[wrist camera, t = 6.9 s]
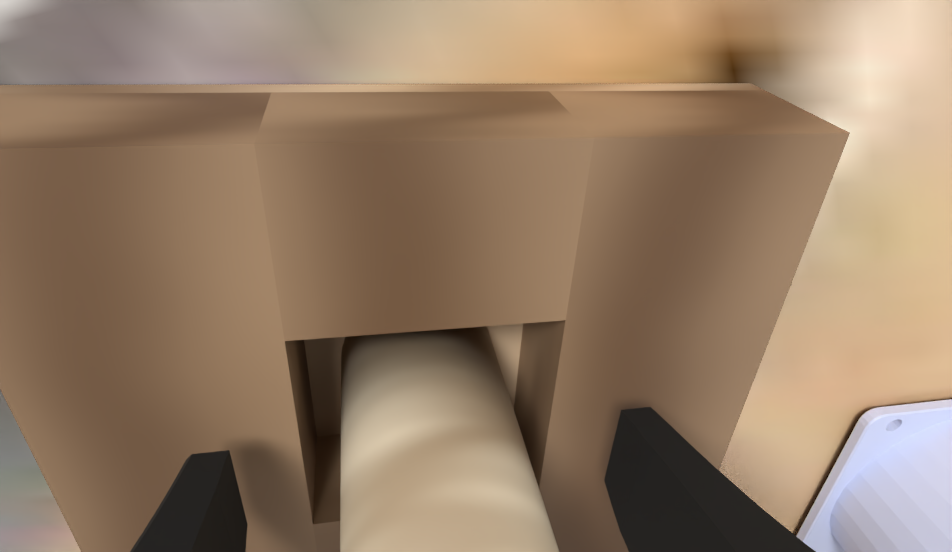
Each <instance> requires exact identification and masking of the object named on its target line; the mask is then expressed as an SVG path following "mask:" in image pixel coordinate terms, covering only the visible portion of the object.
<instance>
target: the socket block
mask: <svg viewBox="0 0 952 552" xmlns="http://www.w3.org/2000/svg"><path fill="white" fill-rule="evenodd" d="M849 134H850V133H849V132H847V131H845V130H843V129H841V128H839V127H837V126H835V125H833V124H831V123H829V122H827V121H825V120H823V119H821V118H819V117H817V116H815V115H813V114H811V113H809V112H807V111H805V110H803V109H801V108H799V107H797V106H795V105H793V104H791V103H789V102H787V101H785V100H783V99H781V98H779V97H777V96H775V95H773V94H771V93H769V92H767V91H765V90H763V89H761V88H759V87H757V86H755V85H753V84H751V83H701V84H233V85H0V390H1V392H2V394H3V396H4V398H5V400H6V402H7V404H8V406H9V408H10V410H11V412H12V414H13V416H14V418H15V420H16V422H17V424H18V426H19V428H20V430H21V432H22V434H23V436H24V438H25V440H26V442H27V444H28V446H29V448H30V450H31V452H32V454H33V456H34V458H35V460H36V462H37V464H38V466H39V468H40V470H41V472H42V474H43V476H44V478H45V480H46V482H47V484H48V486H49V488H50V490H51V492H52V494H53V496H54V498H55V500H56V502H57V504H58V506H59V508H60V510H61V512H62V514H63V516H64V518H65V520H66V522H67V524H68V526H69V528H70V530H71V532H72V534H73V536H74V538H75V540H76V542H77V544H78V546H79V548H80V550H81V552H130V551H131V549H132V548H133V546H134V545H135V543H136V542H137V540H138V539H139V537H140V536H141V534H142V533H143V531H144V530H145V528H146V526H147V525H148V523H149V522H150V520H151V518H152V517H153V515H154V514H155V512H156V510H157V509H158V507H159V505H160V504H161V502H162V501H163V499H164V497H165V496H166V494H167V492H168V490H169V489H170V487H171V485H172V484H173V482H174V480H175V478H176V477H177V475H178V473H179V471H180V470H181V468H182V466H183V464H184V463H185V461H186V459H187V458H188V457H189V456H190V455H191V454H197V453H206V452H216V451H226V450H229V451H230V455H231V459H232V463H233V467H234V471H235V475H236V479H237V483H238V487H239V492H240V496H241V500H242V504H243V508H244V512H245V516H246V520H247V524H248V526H247V539H246V552H340V488H341V352H342V346H343V343H344V339H345V337H348V336H361V335H375V334H388V333H402V332H415V331H429V330H442V329H456V328H469V327H483V326H487V329H488V331H489V334H490V337H491V340H492V344H493V347H494V350H495V353H496V356H497V359H498V362H499V365H500V368H501V372H502V375H503V378H504V381H505V384H506V387H507V390H508V393H509V396H510V400H511V403H512V406H513V409H514V412H515V415H516V418H517V421H518V425H519V428H520V431H521V434H522V437H523V440H524V443H525V446H526V449H527V453H528V456H529V459H530V462H531V465H532V468H533V471H534V474H535V477H536V481H537V484H538V487H539V490H540V493H541V496H542V499H543V502H544V505H545V509H546V512H547V515H548V518H549V521H550V524H551V527H552V530H553V534H554V537H555V540H556V543H557V546H558V549H559V552H629V551H628V548H627V546H626V544H625V541H624V539H623V537H622V534H621V532H620V529H619V526H618V523H617V520H616V517H615V514H614V511H613V508H612V505H611V501H610V498H609V495H608V491H607V488H606V485H605V481H604V479H605V474H606V470H607V466H608V462H609V458H610V454H611V450H612V445H613V441H614V437H615V433H616V429H617V425H618V421H619V416H620V412H621V410H624V409H634V408H644V407H651V408H652V409H653V410H655V411H656V412H657V413H658V414H659V415H660V416H661V417H662V418H663V419H664V420H665V421H666V422H667V423H668V424H669V425H671V426H672V427H673V428H674V429H675V430H676V431H677V432H678V433H679V434H680V435H681V436H682V437H683V438H684V439H685V440H686V441H687V442H688V443H690V444H691V445H692V446H693V447H694V448H695V449H696V450H697V451H698V452H699V453H700V454H701V455H702V456H703V457H704V458H706V459H707V460H708V461H709V462H710V463H711V464H712V465H713V466H714V467H715V468H716V469H717V470H719V468H720V466H721V463H722V460H723V458H724V455H725V453H726V450H727V448H728V445H729V442H730V440H731V437H732V435H733V432H734V430H735V427H736V424H737V422H738V419H739V417H740V414H741V412H742V409H743V406H744V404H745V401H746V399H747V396H748V394H749V391H750V388H751V386H752V383H753V381H754V378H755V375H756V373H757V370H758V368H759V365H760V363H761V360H762V357H763V355H764V352H765V350H766V347H767V345H768V342H769V339H770V337H771V334H772V332H773V329H774V327H775V324H776V321H777V319H778V316H779V314H780V311H781V309H782V306H783V303H784V301H785V298H786V296H787V293H788V291H789V288H790V285H791V283H792V280H793V278H794V275H795V273H796V270H797V267H798V265H799V262H800V260H801V257H802V255H803V252H804V249H805V247H806V244H807V242H808V239H809V236H810V234H811V231H812V229H813V226H814V224H815V221H816V218H817V216H818V213H819V211H820V208H821V206H822V203H823V200H824V198H825V195H826V193H827V190H828V188H829V185H830V182H831V180H832V177H833V175H834V172H835V170H836V167H837V164H838V162H839V159H840V157H841V154H842V152H843V149H844V146H845V144H846V141H847V139H848V136H849Z"/></svg>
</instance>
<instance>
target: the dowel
mask: <svg viewBox="0 0 952 552" xmlns="http://www.w3.org/2000/svg"><path fill="white" fill-rule="evenodd" d="M340 552H559V549H558V546H557V543H556V540H555V537H554V534H553V530H552V527H551V524H550V521H549V518H548V515H547V512H546V509H545V505H544V502H543V499H542V496H541V493H540V490H539V487H538V484H537V481H536V477H535V474H534V471H533V468H532V465H531V462H530V459H529V456H528V453H527V449H526V446H525V443H524V440H523V437H522V434H521V431H520V428H519V425H518V421H517V418H516V415H515V412H514V409H513V406H512V403H511V400H510V396H509V393H508V390H507V387H506V384H505V381H504V378H503V375H502V372H501V368H500V365H499V362H498V359H497V356H496V353H495V350H494V347H493V344H492V340H491V337H490V334H489V331H488V329H487V326H483V327H469V328H456V329H442V330H429V331H415V332H402V333H388V334H375V335H361V336H348V337H345V339H344V343H343V346H342V352H341V488H340Z"/></svg>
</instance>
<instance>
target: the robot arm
mask: <svg viewBox="0 0 952 552" xmlns="http://www.w3.org/2000/svg"><path fill="white" fill-rule="evenodd" d="M604 481H605V485H606V488H607V491H608V495H609V498H610V501H611V505H612V508H613V511H614V514H615V517H616V520H617V523H618V526H619V529H620V532H621V534H622V537H623V539H624V541H625V544H626V546H627V548H628V551H629V552H952V399H948V400H939V401H930V402H921V403H912V404H903V405H894V406H885V407H877V408H873V409H870V410H868V411H866V412H865V413H864V414H863V415H862V416H861V417H860V418H859V420H858V422H857V424H856V426H855V427H854V429H853V431H852V433H851V435H850V437H849V439H848V440H847V442H846V444H845V446H844V448H843V450H842V452H841V453H840V455H839V457H838V459H837V461H836V463H835V465H834V467H833V468H832V470H831V472H830V474H829V476H828V478H827V480H826V481H825V483H824V485H823V487H822V489H821V491H820V493H819V495H818V496H817V498H816V500H815V502H814V504H813V506H812V508H811V509H810V511H809V513H808V515H807V517H806V519H805V521H804V522H803V524H802V526H801V528H800V530H799V532H798V534H797V536H795V535H794V534H792V533H791V532H790V531H789V530H788V529H786V528H785V527H784V526H783V525H781V524H780V523H779V522H778V521H776V520H775V519H774V518H773V517H771V516H770V515H769V514H768V513H767V512H765V511H764V510H763V509H762V508H761V507H759V506H758V505H757V504H756V503H755V502H754V501H752V500H751V499H750V498H749V497H748V496H747V495H745V494H744V493H743V492H742V491H741V490H740V489H739V488H738V487H736V486H735V485H734V484H733V483H732V482H731V481H730V480H729V479H727V478H726V477H725V476H724V475H723V474H722V473H721V472H720V471H719V470H717V469H716V468H715V467H714V466H713V465H712V464H711V463H710V462H709V461H708V460H707V459H706V458H704V457H703V456H702V455H701V454H700V453H699V452H698V451H697V450H696V449H695V448H694V447H693V446H692V445H691V444H690V443H688V442H687V441H686V440H685V439H684V438H683V437H682V436H681V435H680V434H679V433H678V432H677V431H676V430H675V429H674V428H673V427H672V426H671V425H669V424H668V423H667V422H666V421H665V420H664V419H663V418H662V417H661V416H660V415H659V414H658V413H657V412H656V411H655V410H653V409H652V408H651V407H644V408H634V409H624V410H621V412H620V416H619V421H618V425H617V429H616V433H615V437H614V441H613V445H612V450H611V454H610V458H609V462H608V466H607V470H606V474H605V479H604ZM247 526H248V524H247V520H246V516H245V512H244V508H243V504H242V500H241V496H240V492H239V487H238V483H237V479H236V475H235V471H234V467H233V463H232V459H231V455H230V451H229V450H226V451H216V452H206V453H197V454H191V455H190V456H189V457H188V458H187V459H186V461H185V463H184V464H183V466H182V468H181V470H180V471H179V473H178V475H177V477H176V478H175V480H174V482H173V484H172V485H171V487H170V489H169V490H168V492H167V494H166V496H165V497H164V499H163V501H162V502H161V504H160V505H159V507H158V509H157V510H156V512H155V514H154V515H153V517H152V518H151V520H150V522H149V523H148V525H147V526H146V528H145V530H144V531H143V533H142V534H141V536H140V537H139V539H138V540H137V542H136V543H135V545H134V546H133V548H132V549H131V551H130V552H246V539H247Z"/></svg>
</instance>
